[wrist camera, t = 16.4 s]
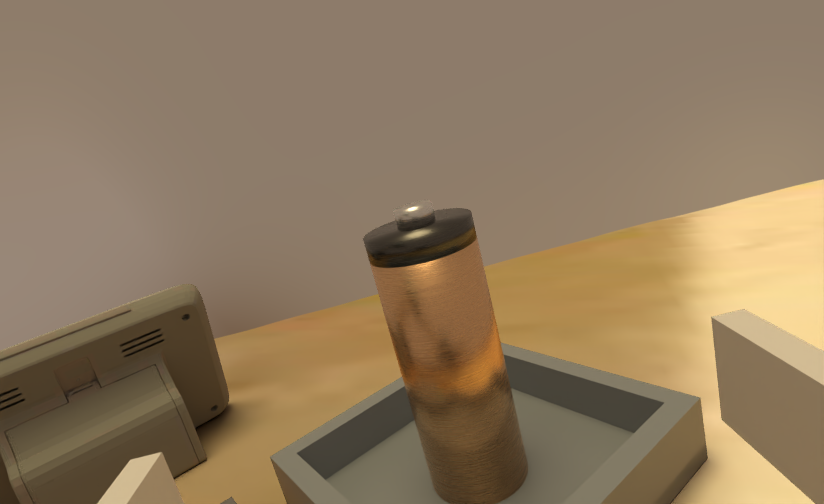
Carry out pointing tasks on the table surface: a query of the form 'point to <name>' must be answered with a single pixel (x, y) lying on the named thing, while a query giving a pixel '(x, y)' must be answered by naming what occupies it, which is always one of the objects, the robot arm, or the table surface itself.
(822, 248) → the table surface
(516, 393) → the tray
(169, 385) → the digital clock
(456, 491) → the cell
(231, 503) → the checker pad
